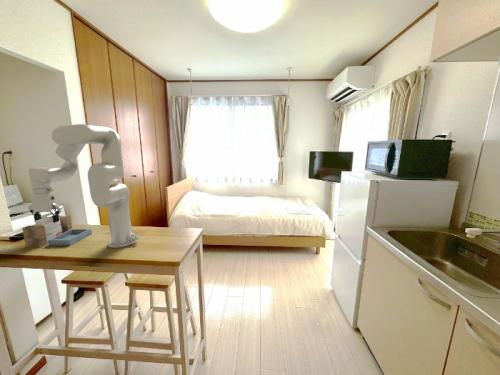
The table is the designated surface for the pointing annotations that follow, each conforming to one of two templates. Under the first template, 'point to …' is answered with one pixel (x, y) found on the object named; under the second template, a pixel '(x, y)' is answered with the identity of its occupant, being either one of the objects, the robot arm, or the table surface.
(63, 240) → the tray
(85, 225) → the table surface
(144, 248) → the table surface
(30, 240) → the left walnut block
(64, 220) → the right walnut block
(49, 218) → the ink cartridge box
